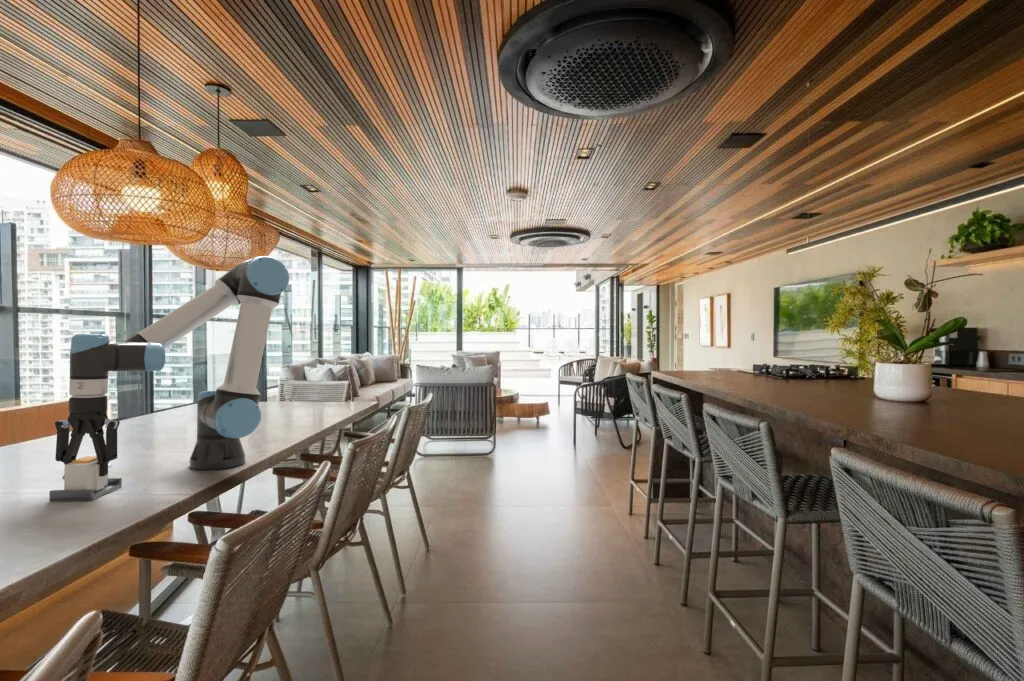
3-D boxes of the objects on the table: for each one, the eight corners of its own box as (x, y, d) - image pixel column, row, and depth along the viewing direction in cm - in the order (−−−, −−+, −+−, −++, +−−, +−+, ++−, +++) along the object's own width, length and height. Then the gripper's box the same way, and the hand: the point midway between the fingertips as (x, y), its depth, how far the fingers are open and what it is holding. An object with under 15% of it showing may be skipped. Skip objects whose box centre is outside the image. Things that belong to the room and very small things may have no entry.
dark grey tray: (121, 487, 138) (121, 477, 138) (90, 501, 126) (90, 490, 126) (84, 487, 137) (84, 477, 137) (49, 501, 125) (49, 491, 125)
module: (107, 484, 136) (108, 454, 136) (86, 493, 128) (87, 462, 128) (86, 484, 135) (87, 455, 135) (64, 493, 127) (64, 462, 127)
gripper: (36, 396, 127) (33, 493, 127) (119, 397, 129) (116, 493, 129) (59, 393, 134) (56, 485, 134) (137, 394, 137) (134, 485, 136)
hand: (85, 489), depth 132 cm, fingers open, 5 cm apart
